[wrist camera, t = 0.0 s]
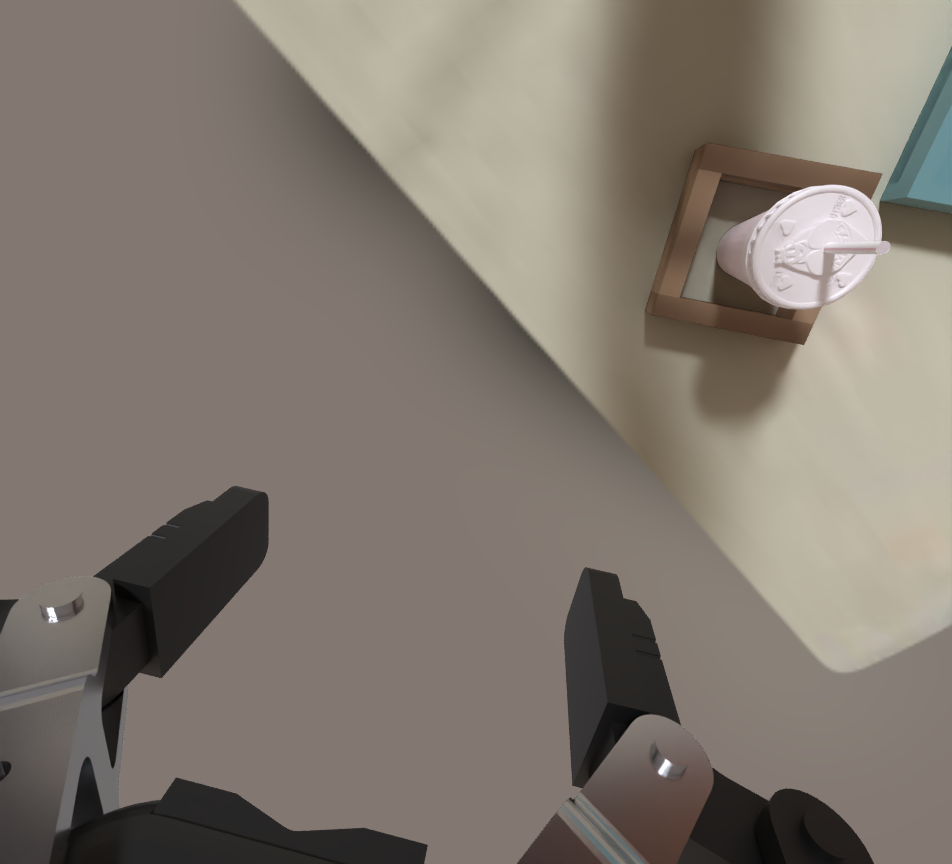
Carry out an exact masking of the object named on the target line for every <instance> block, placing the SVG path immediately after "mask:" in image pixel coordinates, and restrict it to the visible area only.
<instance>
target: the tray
mask: <svg viewBox="0 0 952 864" xmlns="http://www.w3.org/2000/svg"><path fill="white" fill-rule="evenodd" d="M880 201H883V202H889V203H894V204H900V205H905V206H911V207H917V208H922V209H928V210H933V211H939V212H944V213H950V214H952V48H951V50H950V52H949V54H948V56H947V59H946V61H945V63H944V65H943V67H942V69H941V71H940V74H939V76H938V78H937V80H936V82H935V84H934V86H933V89H932V91H931V93H930V95H929V97H928V99H927V101H926V104H925V106H924V108H923V110H922V112H921V114H920V116H919V119H918V121H917V123H916V125H915V127H914V129H913V131H912V134H911V136H910V138H909V140H908V142H907V144H906V146H905V148H904V151H903V153H902V155H901V157H900V159H899V161H898V163H897V166H896V168H895V170H894V172H893V174H892V176H891V178H890V181H889V183H888V185H887V187H886V189H885V191H884V193H883V196H882V198H881V200H880Z"/></svg>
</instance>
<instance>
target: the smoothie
mask: <svg viewBox="0 0 952 864" xmlns="http://www.w3.org/2000/svg"><path fill="white" fill-rule="evenodd" d="M881 239H882V225H881V219H880V216H879V213H878V211H877V209H876V207H875V205H874V204H873V203H872V201H871V200H870V199H869V198H868V197H867V196H866V195H864V194H863V193H862V192H860V191H858V190H856V189H854V188H851V187H847V186H843V185H823V186H811V187H808V188H805V189H802V190H799V191H796V192H793V193H792V194H790V195H788V196H787V197H785V198H783V199H782V200H780V201H778V202H777V203H776V204H775V205H774V206H773V207H772V208H771V209H770V210H768V211H766V212H764V213H762V214H759V215H757V216H755V217H753V218H751V219H749V220H746V221H744V222H742V223H740V224H738V225H736V226H734V227H732V228H731V229H729V230H728V231H727V232H726V233H725V234H724V236H723V237H722V238H721V240H720V242H719V245H718V248H717V261H718V264H719V266H720V267H721V269H722V270H723V271H724V272H726V273H728V274H729V275H731V276H733V277H735V278H737V279H738V280H740V281H742V282H744V283H746V284H747V285H749V286H751V287H752V289H753V290H754V291H755V292H756V293H757V294H758V295H759V296H760V297H761V299H763V300H765V301H766V302H768V303H770V304H772V305H774V306H777V307H782V308H786V309H799V310H804V309H813V308H818V307H822V306H825V305H827V304H830V303H832V302H834V301H836V300H838V299H840V298H842V297H843V296H845V295H846V294H848V293H849V292H850V291H851V290H853V289H854V288H855V287H856V286H857V285H858V284H859V283H860V282H861V281H862V280H863V278H864V277H865V276H866V275H867V273H868V272H869V270H870V269H871V267H872V265H873V264H874V262H875V260H876V257H877V255H878V254H885V253H887V252H888V251H889V249H890V243H889V242H887V241H881Z"/></svg>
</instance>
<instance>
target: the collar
mask: <svg viewBox="0 0 952 864" xmlns="http://www.w3.org/2000/svg"><path fill="white" fill-rule="evenodd" d="M881 176H882V174H881V173H875V172H869V171H864V170H858V169H853V168H847V167H841V166H836V165H830V164H824V163H819V162H813V161H807V160H802V159H796V158H790V157H785V156H779V155H773V154H768V153H762V152H756V151H751V150H745V149H739V148H734V147H728V146H723V145H717V144H711V143H706V144H705V145H703V146H701V147H700V148H698V149H697V150H695V153H694V156H693V159H692V162H691V166H690V169H689V172H688V175H687V178H686V182H685V185H684V188H683V191H682V194H681V197H680V201H679V204H678V207H677V210H676V213H675V217H674V220H673V223H672V226H671V229H670V232H669V236H668V239H667V242H666V245H665V248H664V252H663V255H662V258H661V261H660V264H659V268H658V271H657V274H656V277H655V280H654V283H653V287H652V290H651V293H650V296H649V299H648V303H647V306H646V309H645V311H646V312H648V313H650V314H651V315H655V316H660V317H665V318H671V319H676V320H681V321H686V322H691V323H696V324H701V325H706V326H711V327H716V328H721V329H726V330H731V331H736V332H741V333H746V334H751V335H756V336H761V337H766V338H771V339H777V340H782V341H787V342H792V343H797V344H802V345H804V344H805V342H806V340H807V337H808V335H809V333H810V331H811V329H812V326H813V324H814V322H815V320H816V318H817V316H818V313H819V311H820V309H821V307H818V308H813V309H804V310H799V309H786V308H782V307H779V308H778V311H777V313H776V315H771V314H766V313H761V312H756V311H751V310H746V309H741V308H735V307H730V306H725V305H720V304H715V303H710V302H705V301H700V300H695V299H689V298H684V297H680V295H681V292H682V289H683V286H684V283H685V280H686V278H687V275H688V272H689V269H690V266H691V263H692V260H693V257H694V254H695V251H696V248H697V245H698V242H699V239H700V236H701V233H702V230H703V227H704V224H705V221H706V219H707V216H708V213H709V210H710V207H711V204H712V201H713V198H714V195H715V192H716V189H717V186H718V183H719V181H725V182H730V183H736V184H742V185H747V186H753V187H758V188H764V189H769V190H775V191H780V192H786V193H791V194H792V193H793V192H796V191H799V190H802V189H805V188H808V187H811V186H823V185H843V186H847V187H851V188H854V189H856V190H858V191H860V192H862V193H863V194H864V195H866V196H867V197H868V198H869V199H870V200H871V198H872V196H873V194H874V191H875V189H876V187H877V185H878V183H879V181H880V178H881Z"/></svg>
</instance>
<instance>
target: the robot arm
mask: <svg viewBox="0 0 952 864" xmlns="http://www.w3.org/2000/svg"><path fill="white" fill-rule="evenodd" d="M268 504H269V502H268V496H267V494H266V493H265V492H260V491H256V490H251V489H247V488H242V487H238V486H233V487H231V488H229V489H228V490H227V491H226V492H224V493H223V494H222V495H220V496H219V497H218V498H216V499H215V500H214V501H213V502H212V501H205V502H202V503H200V504H197V505H195V506H192V507H190V508H187V509H185V510H183V511H182V512H180V513H179V514H178V515H176V516H175V517H174V518H172V519H171V520H169V521H168V522H167V524H166V525H163V526H161V527H160V528H159V529H157V530H156V531H154V532H153V533H152V535H151V537H150V536H148V537H146V538H145V539H144V540H142V541H141V542H140V543H138V544H137V545H135V546H134V547H133V548H131V549H130V550H129V551H127V552H126V553H125V554H123V555H122V556H120V557H119V558H118V559H116V560H115V561H114V562H112V563H111V564H109V565H108V566H107V567H105V568H104V569H103V570H101V571H100V572H99V573H97V574H96V575H94V576H93V577H91V576H76V577H68V578H64V579H59V580H56V581H52V582H50V583H47V584H44V585H42V586H40V587H38V588H36V589H34V590H32V591H31V592H29V593H28V594H26V595H24V596H23V597H22V598H21V599H17V600H0V864H424V861H425V856H426V851H427V845H426V844H422V843H418V842H415V841H411V840H408V839H404V838H400V837H396V836H393V835H389V834H385V833H381V832H378V831H374V830H370V829H366V828H353V829H335V830H315V831H292V830H289V829H287V828H285V827H284V826H282V825H281V824H279V823H278V822H276V821H275V820H274V819H272V818H271V817H269V816H268V815H266V814H265V813H263V812H262V811H261V810H259V809H258V808H256V807H255V806H253V805H252V804H251V803H249V802H247V801H246V800H245V799H243V798H242V797H241V796H239V795H238V794H236V793H232V792H228V791H225V790H221V789H217V788H213V787H209V786H205V785H202V784H198V783H195V782H191V781H187V780H183V779H180V778H175V780H174V781H173V783H172V784H171V786H170V787H169V789H168V790H167V792H166V793H165V794H164V796H163V798H162V799H161V800H155V801H150V802H144V803H139V804H134V805H130V806H127V807H123V808H120V807H119V806H120V805H119V778H120V768H121V759H122V750H123V740H124V731H125V721H126V711H127V702H128V686H127V685H128V684H129V683H130V682H131V681H132V680H133V678H134V677H135V676H136V675H137V674H138V673H143V674H147V675H151V676H155V677H159V678H162V677H163V676H164V675H165V674H166V672H167V671H168V670H169V669H170V668H171V667H172V665H174V663H175V662H176V661H177V660H178V659H179V658H180V657H181V655H182V654H183V653H184V652H185V651H186V650H187V649H188V648H189V646H190V645H191V644H192V643H193V642H194V641H195V640H196V638H197V637H198V636H199V635H200V634H201V633H202V632H203V631H204V629H205V628H206V627H207V626H208V625H209V624H210V623H211V621H212V620H213V619H214V618H215V617H216V616H217V615H218V614H219V612H220V611H221V610H222V609H223V608H224V607H225V606H226V604H227V603H228V602H229V601H230V600H231V599H232V598H233V597H234V595H235V594H236V593H237V592H238V591H239V590H240V588H241V587H242V586H243V585H244V584H245V583H246V582H247V581H248V580H249V578H250V577H251V576H252V575H253V574H254V573H255V572H256V570H257V569H258V568H259V567H260V565H261V564H262V562H263V560H264V558H265V555H266V553H267V549H268V525H269V524H268V523H269V522H268V521H269V520H268V519H269V518H268V511H269V510H268V506H269V505H268ZM655 641H656V638H655V635H654V632H653V628H652V625H651V621H650V619H649V618H648V617H647V615H646V614H645V612H644V611H643V610H642V608H641V607H640V606H639V604H638V603H637V602H636V601H632V600H628V599H624V598H623V595H622V591H621V587H620V582H619V578H618V576H617V575H616V574H612V573H608V572H604V571H600V570H595V569H591V568H584V570H583V572H582V574H581V577H580V580H579V583H578V586H577V589H576V592H575V595H574V598H573V601H572V604H571V607H570V610H569V613H568V616H567V620H566V626H565V633H564V648H565V663H566V682H567V698H568V715H569V734H570V750H571V768H572V785H573V786H576V787H580V788H583V789H582V790H581V791H580V793H579V794H578V795H577V796H576V797H575V798H574V799H572V798H569V799H568V800H566V801H565V802H564V804H563V805H562V806H561V807H560V808H559V810H558V811H557V812H556V814H555V815H554V816H553V817H552V818H551V820H550V821H549V822H548V824H547V825H546V826H545V828H544V829H543V830H542V831H541V833H540V834H539V836H538V837H537V838H536V839H535V841H534V842H533V843H532V844H531V846H530V847H529V848H528V850H527V851H526V852H525V854H524V855H523V856H522V858H521V859H520V860H519V861H518V863H517V864H874V863H873V861H872V859H871V857H870V855H869V853H868V851H867V849H866V848H865V846H864V844H863V843H862V842H861V840H860V839H859V837H858V836H857V834H856V833H855V832H854V831H853V829H852V828H851V827H850V826H849V825H848V824H847V823H846V822H845V821H844V820H843V819H842V818H841V817H840V816H839V815H838V814H837V813H836V812H835V811H834V810H832V809H831V808H830V807H829V806H827V805H826V804H825V803H823V802H822V801H820V800H818V799H817V798H815V797H813V796H811V795H809V794H808V793H805V792H802V791H800V790H795V789H782V790H779V791H777V792H775V794H774V795H773V796H772V797H771V799H770V800H769V801H768V800H766V799H764V798H762V797H761V796H759V795H757V794H755V793H753V792H751V791H750V790H748V789H746V788H744V787H743V786H741V785H739V784H737V783H736V782H734V781H732V780H730V779H728V778H727V777H725V776H724V775H722V774H720V773H719V772H718V771H716V770H715V769H714V768H712V766H711V763H710V760H709V758H708V756H707V754H706V752H705V751H704V749H703V748H702V746H701V745H700V744H699V742H698V741H697V740H696V739H695V738H694V737H693V735H692V734H690V733H689V732H688V731H687V730H686V729H685V728H683V727H682V726H681V724H680V720H679V717H678V714H677V711H676V707H675V704H674V700H673V697H672V693H671V690H670V686H669V683H668V680H667V676H666V673H665V670H664V666H663V662H662V660H660V652H659V649H658V645H657V643H655Z"/></svg>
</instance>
